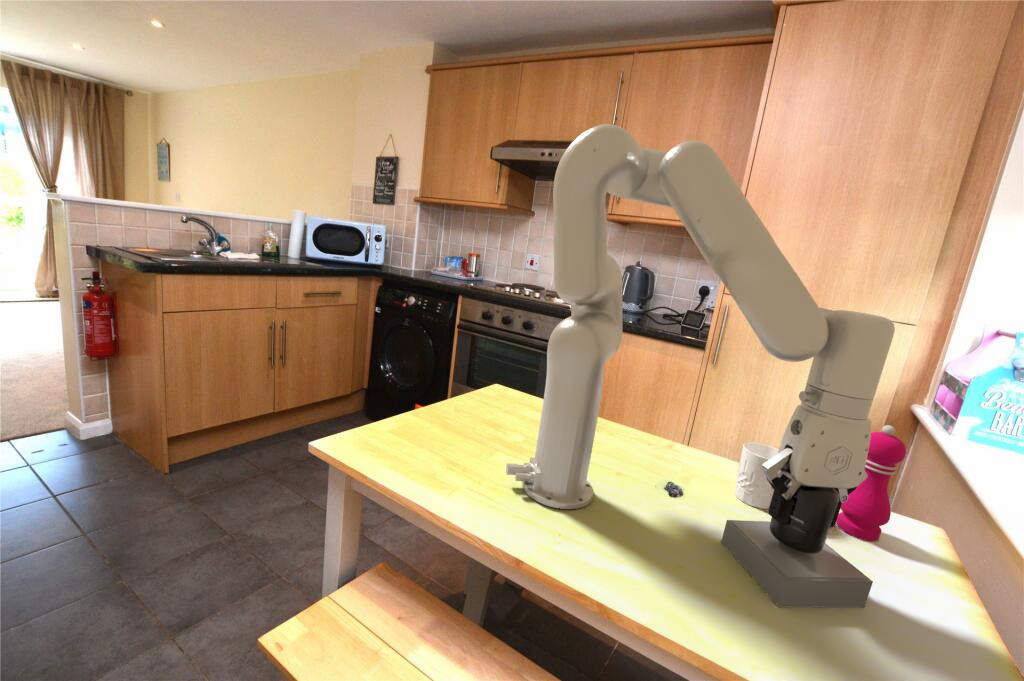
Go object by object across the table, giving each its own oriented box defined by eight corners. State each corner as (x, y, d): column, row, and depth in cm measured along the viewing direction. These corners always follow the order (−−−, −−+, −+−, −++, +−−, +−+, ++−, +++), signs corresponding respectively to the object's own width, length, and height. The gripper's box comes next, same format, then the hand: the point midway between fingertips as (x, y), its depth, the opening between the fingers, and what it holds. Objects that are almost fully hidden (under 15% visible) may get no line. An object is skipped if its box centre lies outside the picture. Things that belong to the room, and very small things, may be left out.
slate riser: (779, 607, 60) (787, 579, 59) (721, 542, 72) (726, 519, 71) (864, 607, 62) (873, 580, 61) (793, 544, 74) (800, 521, 73)
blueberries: (655, 501, 84) (657, 492, 83) (648, 477, 92) (650, 469, 91) (692, 508, 83) (695, 499, 83) (682, 483, 91) (684, 475, 91)
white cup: (783, 515, 83) (797, 465, 81) (737, 505, 85) (750, 455, 83) (768, 493, 91) (781, 447, 89) (726, 485, 92) (738, 439, 90)
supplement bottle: (771, 544, 64) (794, 465, 62) (765, 519, 70) (785, 447, 68) (828, 562, 62) (854, 481, 59) (816, 535, 68) (839, 461, 65)
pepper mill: (869, 547, 77) (905, 436, 73) (824, 522, 83) (855, 418, 79) (890, 539, 80) (926, 432, 76) (845, 515, 86) (876, 416, 82)
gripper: (799, 407, 57) (763, 535, 60) (916, 418, 60) (875, 539, 63) (759, 388, 64) (729, 503, 68) (865, 398, 67) (831, 508, 70)
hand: (800, 519), depth 65 cm, fingers closed on supplement bottle, 6 cm apart
